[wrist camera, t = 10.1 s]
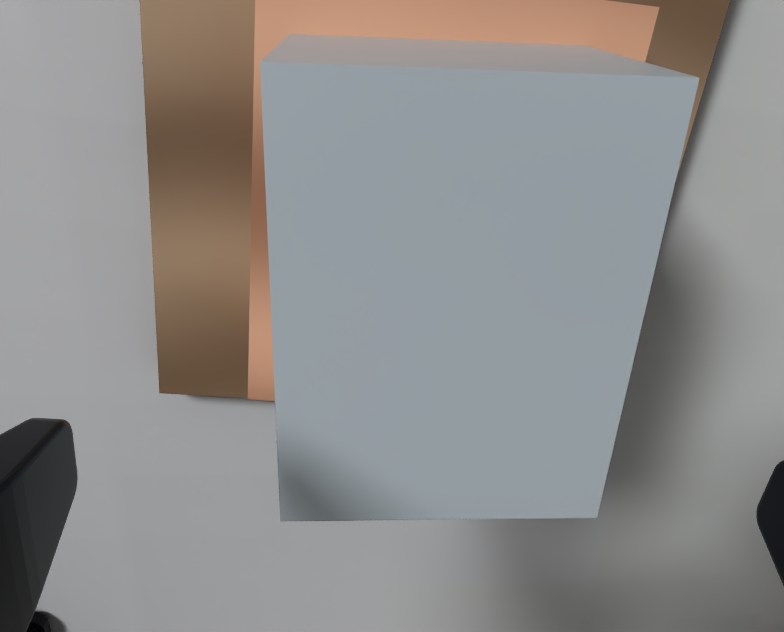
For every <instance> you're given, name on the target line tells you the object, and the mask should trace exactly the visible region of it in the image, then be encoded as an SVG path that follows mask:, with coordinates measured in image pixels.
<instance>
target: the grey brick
mask: <svg viewBox="0 0 784 632" xmlns="http://www.w3.org/2000/svg"><path fill="white" fill-rule="evenodd" d="M260 77H261V99H262V121H263V144H264V166H265V188H266V211H267V233H268V255H269V278H270V300H271V322H272V345H273V367H274V389H275V412H276V434H277V456H278V478H279V501H280V521H354V520H446V519H538V518H597V516H598V511H599V507H600V503H601V498H602V494H603V490H604V486H605V481H606V477H607V473H608V468H609V464H610V460H611V456H612V451H613V447H614V443H615V438H616V434H617V430H618V426H619V421H620V417H621V413H622V408H623V404H624V400H625V396H626V391H627V387H628V383H629V378H630V374H631V370H632V366H633V361H634V357H635V353H636V348H637V344H638V340H639V336H640V331H641V327H642V323H643V318H644V314H645V310H646V306H647V301H648V297H649V293H650V288H651V284H652V280H653V276H654V271H655V267H656V263H657V258H658V254H659V250H660V246H661V241H662V237H663V233H664V228H665V224H666V220H667V216H668V211H669V207H670V203H671V198H672V194H673V190H674V186H675V181H676V177H677V173H678V168H679V164H680V160H681V156H682V151H683V147H684V143H685V138H686V134H687V130H688V126H689V121H690V117H691V113H692V108H693V104H694V100H695V96H696V91H697V87H698V83H699V77H695V76H692V75H688V74H685V73H681V72H678V71H674V70H671V69H667V68H664V67H660V66H657V65H653V64H649V63H646V62H642V61H639V60H635V59H632V58H628V57H625V56H621V55H618V54H614V53H611V52H607V51H604V50H600V49H597V48H593V47H590V46H586V45H564V44H539V43H513V42H488V41H462V40H437V39H411V38H386V37H361V36H335V35H310V34H289V35H288V36H287V37H286V38H285V39H283V40H282V41H281V42H280V43H279V44H278V45H277V46H276V47H275V48H274V49H273V50H272V51H271V52H270V53H269V54H268V55H267V56H265V57H264V58H263V59H262V60H261V61H260Z"/></svg>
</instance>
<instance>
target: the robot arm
mask: <svg viewBox="0 0 784 632" xmlns="http://www.w3.org/2000/svg"><path fill="white" fill-rule="evenodd" d="M76 488H77V467H76V459H75V450H74V442H73V433H72V429H71V426H70V424H69V423H68V422H67V421H66V420H63V419H47V418H32V419H29V420H27V421H24V422H23V423H21V424H19V425H17V426H15V427H14V428H12V429H10V430H8V431H6V432H4V433H3V434H1V435H0V632H51V631H50V625H49V621H48V619H47V618H46V617H45V616H44V615H42V614H39V613H34V612H35V609H36V607H37V604H38V601H39V598H40V596H41V593H42V590H43V587H44V584H45V581H46V578H47V575H48V572H49V569H50V567H51V564H52V561H53V558H54V555H55V552H56V549H57V546H58V543H59V540H60V537H61V534H62V531H63V528H64V525H65V522H66V520H67V517H68V514H69V511H70V508H71V505H72V502H73V499H74V496H75V492H76ZM757 522H758V526H759V529H760V531H761V533H762V536H763V538H764V541H765V543H766V545H767V548H768V550H769V552H770V555H771V557H772V559H773V562H774V564H775V567H776V569H777V571H778V574H779V576H780V578H781V581H782V583H783V586H784V460H783V461H781V462H780V463H779V464H778V465H776V467H775V469H774V471H773V473H772V475H771V478H770V480H769V482H768V484H767V486H766V489H765V491H764V493H763V495H762V497H761V499H760V502H759V504H758V507H757Z"/></svg>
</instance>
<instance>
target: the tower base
mask: <svg viewBox="0 0 784 632" xmlns="http://www.w3.org/2000/svg"><path fill="white" fill-rule="evenodd" d="M730 1H731V0H140V15H141V35H142V55H143V75H144V95H145V114H146V134H147V154H148V174H149V194H150V214H151V233H152V253H153V273H154V293H155V313H156V333H157V353H158V372H159V392H160V393H167V394H184V395H201V396H217V397H234V398H248V399H251V400H268V401H275V389H274V367H273V345H272V322H271V300H270V278H269V255H268V233H267V211H266V188H265V166H264V144H263V121H262V99H261V77H260V61H261V60H262V59H263V58H264V57H265V56H267V55H268V54H269V53H270V52H271V51H272V50H273V49H274V48H275V47H276V46H277V45H278V44H279V43H280V42H281V41H282V40H283V39H285V38H286V37H287V36H288V35H289V34H310V35H335V36H361V37H386V38H411V39H437V40H462V41H488V42H513V43H539V44H564V45H586V46H590V47H593V48H597V49H600V50H604V51H607V52H611V53H614V54H618V55H621V56H625V57H628V58H632V59H635V60H639V61H642V62H646V63H649V64H653V65H657V66H660V67H664V68H667V69H671V70H674V71H678V72H681V73H685V74H688V75H692V76H695V77H699V83H698V87H697V91H696V96H695V100H694V104H693V108H692V113H691V117H690V121H689V126H688V130H687V134H686V138H685V143H684V147H683V151H682V156H681V160H680V164H679V168H678V172H679V169H680V165H681V162H682V159H683V156H684V152H685V149H686V146H687V142H688V139H689V136H690V132H691V129H692V126H693V123H694V119H695V116H696V113H697V109H698V106H699V103H700V100H701V96H702V93H703V90H704V86H705V83H706V80H707V76H708V73H709V70H710V67H711V63H712V60H713V57H714V53H715V50H716V47H717V43H718V40H719V37H720V34H721V30H722V27H723V24H724V20H725V17H726V14H727V11H728V7H729V4H730ZM677 175H678V173H677ZM676 179H677V177H676ZM675 182H676V181H675Z"/></svg>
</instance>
